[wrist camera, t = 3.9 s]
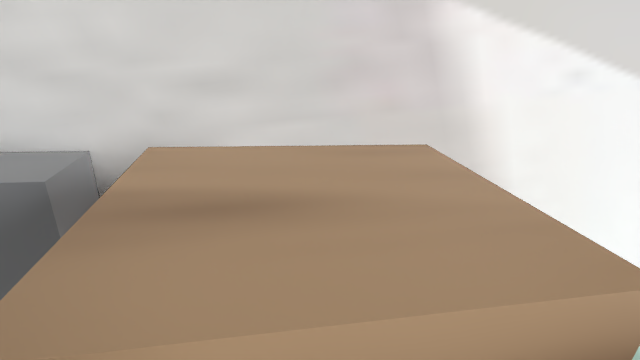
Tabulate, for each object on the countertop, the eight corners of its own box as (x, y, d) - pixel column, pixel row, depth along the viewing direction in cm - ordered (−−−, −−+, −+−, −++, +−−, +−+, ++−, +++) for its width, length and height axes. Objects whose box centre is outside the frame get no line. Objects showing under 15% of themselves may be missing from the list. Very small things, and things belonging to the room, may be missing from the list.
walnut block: (394, 338, 10) (512, 582, 6) (180, 366, 9) (109, 702, 4) (426, 144, 8) (671, 286, 3) (148, 147, 7) (-70, 372, 2)
